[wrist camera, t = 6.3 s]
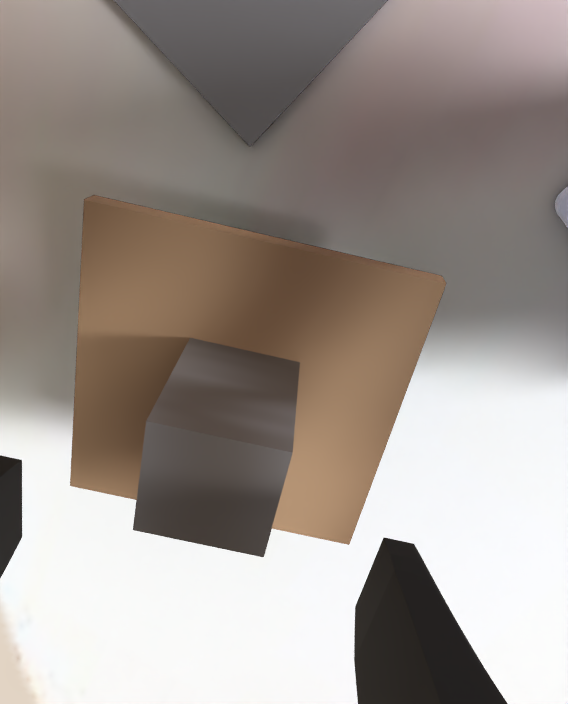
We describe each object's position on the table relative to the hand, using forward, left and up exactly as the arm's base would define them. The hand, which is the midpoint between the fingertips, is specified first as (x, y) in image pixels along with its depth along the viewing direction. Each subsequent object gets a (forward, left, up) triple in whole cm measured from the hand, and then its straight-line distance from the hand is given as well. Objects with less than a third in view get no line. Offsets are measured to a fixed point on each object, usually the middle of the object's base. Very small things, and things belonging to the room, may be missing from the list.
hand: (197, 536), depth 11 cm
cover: (0, 0, -6) cm, 6 cm away
